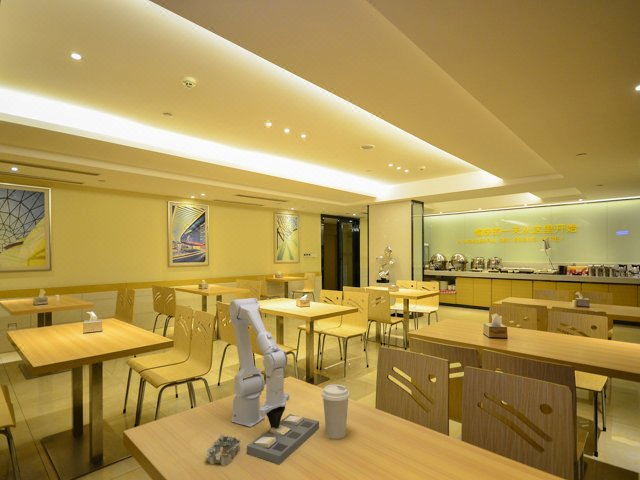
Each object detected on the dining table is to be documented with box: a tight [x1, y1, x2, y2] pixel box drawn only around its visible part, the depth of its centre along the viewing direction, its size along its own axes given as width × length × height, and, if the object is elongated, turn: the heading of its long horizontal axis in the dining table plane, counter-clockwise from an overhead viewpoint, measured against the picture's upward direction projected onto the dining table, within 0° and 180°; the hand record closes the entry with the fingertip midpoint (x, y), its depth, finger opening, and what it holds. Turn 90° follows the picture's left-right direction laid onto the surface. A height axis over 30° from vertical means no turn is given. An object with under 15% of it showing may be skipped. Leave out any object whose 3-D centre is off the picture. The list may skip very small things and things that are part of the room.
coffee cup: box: [321, 384, 351, 440], centre depth 118 cm, size 10×10×15 cm
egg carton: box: [206, 434, 242, 467], centre depth 106 cm, size 11×8×4 cm
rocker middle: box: [269, 425, 290, 437], centre depth 116 cm, size 5×4×1 cm
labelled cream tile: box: [284, 415, 303, 425], centre depth 123 cm, size 5×4×1 cm
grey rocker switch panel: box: [246, 413, 320, 465], centre depth 115 cm, size 12×24×2 cm, turn 152°
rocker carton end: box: [255, 437, 276, 448], centre depth 109 cm, size 5×4×1 cm
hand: (274, 429), depth 117 cm, fingers closed, pressing on rocker middle
